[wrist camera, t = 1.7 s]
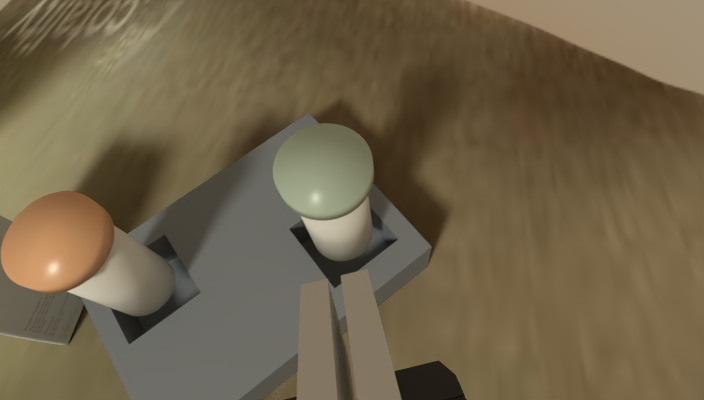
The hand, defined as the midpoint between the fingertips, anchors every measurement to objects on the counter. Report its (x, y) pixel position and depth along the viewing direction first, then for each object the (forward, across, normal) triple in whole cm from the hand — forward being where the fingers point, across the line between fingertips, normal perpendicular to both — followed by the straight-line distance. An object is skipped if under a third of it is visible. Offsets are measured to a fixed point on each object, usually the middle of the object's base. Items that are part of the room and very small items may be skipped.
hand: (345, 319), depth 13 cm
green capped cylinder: (+21, 0, -6) cm, 22 cm away
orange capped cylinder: (+20, -15, -7) cm, 26 cm away
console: (+24, -8, -10) cm, 28 cm away
